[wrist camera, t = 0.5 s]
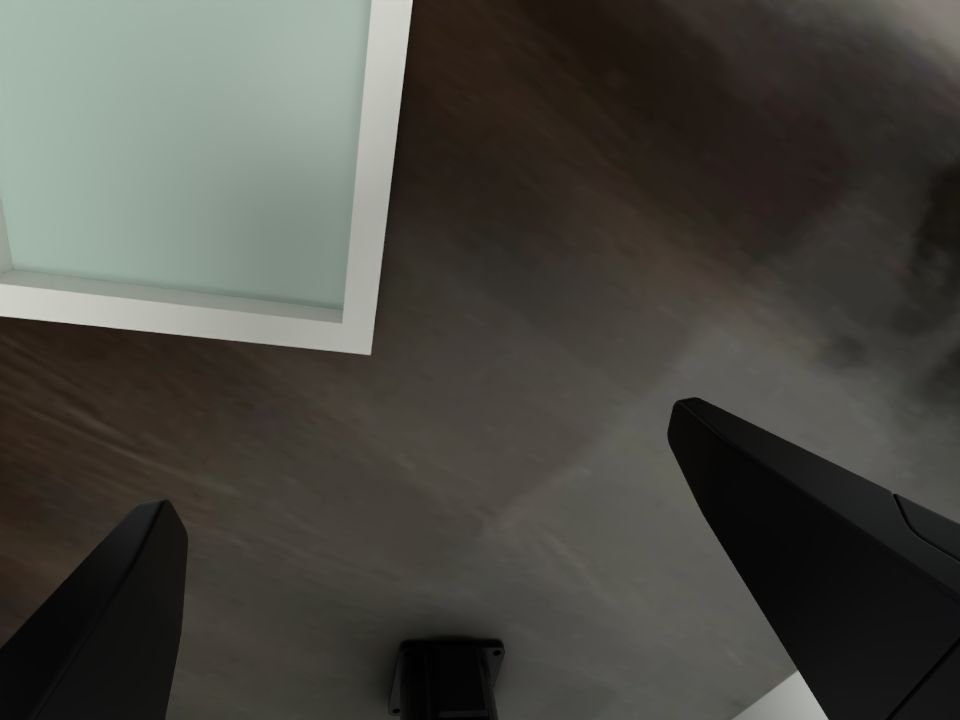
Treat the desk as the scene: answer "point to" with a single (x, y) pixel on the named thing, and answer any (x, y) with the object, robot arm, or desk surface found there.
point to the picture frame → (200, 165)
